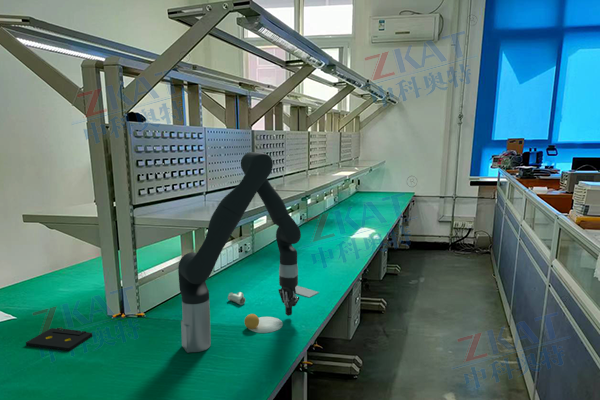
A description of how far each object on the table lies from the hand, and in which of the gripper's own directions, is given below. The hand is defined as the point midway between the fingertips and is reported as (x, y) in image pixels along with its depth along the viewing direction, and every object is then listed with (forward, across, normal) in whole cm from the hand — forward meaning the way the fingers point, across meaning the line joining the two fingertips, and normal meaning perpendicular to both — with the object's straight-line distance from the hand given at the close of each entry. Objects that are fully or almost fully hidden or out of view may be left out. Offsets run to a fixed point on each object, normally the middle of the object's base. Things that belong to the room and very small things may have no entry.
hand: (288, 314), depth 167 cm
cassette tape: (+2, -29, -79) cm, 85 cm away
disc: (+2, 0, -11) cm, 11 cm away
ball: (-1, 0, -17) cm, 17 cm away
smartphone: (+2, -22, +21) cm, 30 cm away
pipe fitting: (+2, -28, -9) cm, 29 cm away
